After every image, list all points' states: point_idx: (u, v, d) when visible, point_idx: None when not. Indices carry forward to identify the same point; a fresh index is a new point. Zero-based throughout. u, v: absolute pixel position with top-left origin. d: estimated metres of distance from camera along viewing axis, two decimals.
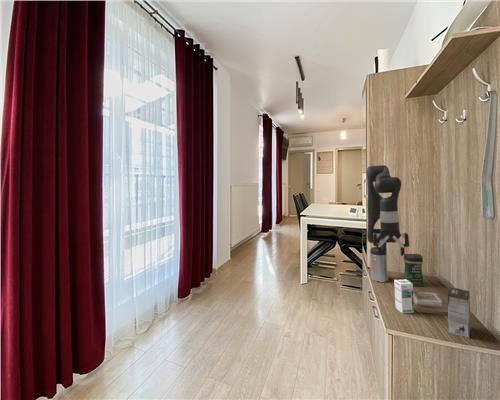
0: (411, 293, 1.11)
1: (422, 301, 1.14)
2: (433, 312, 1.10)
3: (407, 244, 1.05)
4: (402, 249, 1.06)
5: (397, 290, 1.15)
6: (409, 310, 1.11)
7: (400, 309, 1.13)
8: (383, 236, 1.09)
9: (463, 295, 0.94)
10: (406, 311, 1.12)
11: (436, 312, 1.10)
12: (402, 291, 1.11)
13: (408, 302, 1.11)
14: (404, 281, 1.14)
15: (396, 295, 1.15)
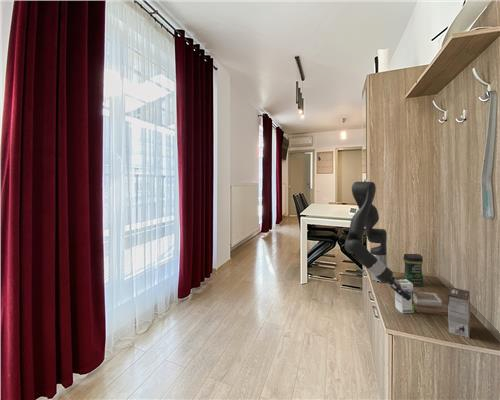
0: (411, 293, 1.11)
1: (422, 301, 1.14)
2: (433, 312, 1.10)
3: (398, 293, 1.10)
4: (402, 295, 1.11)
5: None
6: (409, 310, 1.11)
7: (400, 309, 1.13)
8: None
9: (463, 295, 0.94)
10: (406, 311, 1.12)
11: (436, 312, 1.10)
12: None
13: (408, 302, 1.11)
14: (404, 281, 1.14)
15: (396, 295, 1.15)
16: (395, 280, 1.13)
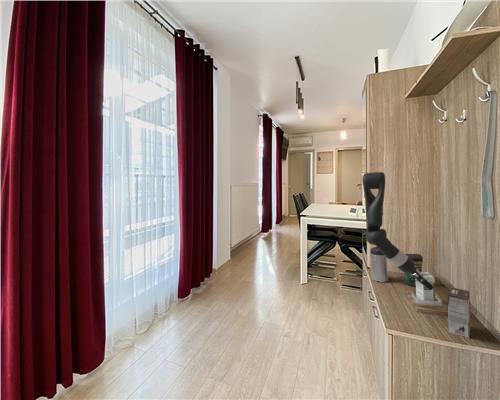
0: (433, 285, 1.14)
1: (422, 301, 1.14)
2: (433, 312, 1.10)
3: (421, 283, 1.12)
4: None
5: (418, 283, 1.18)
6: None
7: None
8: None
9: (463, 295, 0.94)
10: None
11: (436, 312, 1.10)
12: None
13: (430, 294, 1.14)
14: (425, 274, 1.17)
15: (417, 288, 1.19)
16: (417, 270, 1.17)
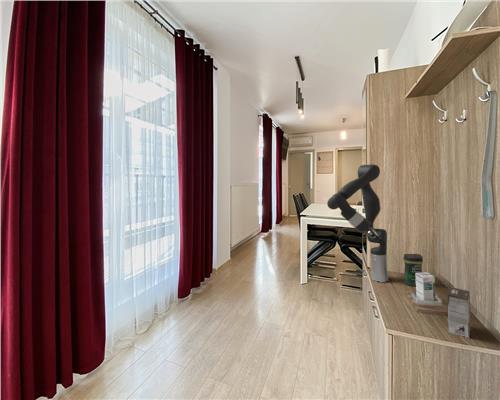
0: (433, 285, 1.14)
1: (422, 301, 1.14)
2: (433, 312, 1.10)
3: (374, 240, 1.21)
4: (378, 242, 1.22)
5: (418, 283, 1.18)
6: None
7: None
8: None
9: (463, 295, 0.94)
10: None
11: (436, 312, 1.10)
12: (424, 283, 1.15)
13: (430, 294, 1.15)
14: (425, 274, 1.17)
15: (418, 288, 1.19)
16: (372, 229, 1.25)
